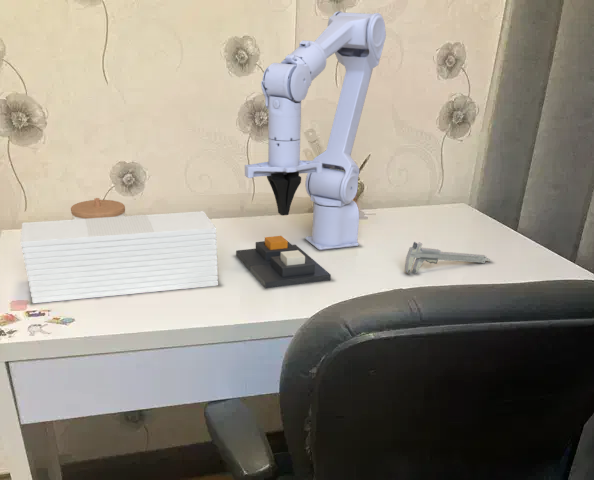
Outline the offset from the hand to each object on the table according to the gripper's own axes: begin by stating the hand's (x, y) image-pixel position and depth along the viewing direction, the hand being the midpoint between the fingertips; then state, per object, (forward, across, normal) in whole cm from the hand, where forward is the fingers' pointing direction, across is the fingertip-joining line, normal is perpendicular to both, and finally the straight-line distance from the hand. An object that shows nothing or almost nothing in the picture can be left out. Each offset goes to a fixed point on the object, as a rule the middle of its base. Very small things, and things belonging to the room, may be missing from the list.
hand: (283, 213), depth 125 cm
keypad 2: (+10, -1, -6) cm, 12 cm away
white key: (+8, 0, -6) cm, 10 cm away
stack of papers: (+10, -31, 0) cm, 32 cm away
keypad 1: (+10, -1, +4) cm, 11 cm away
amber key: (+8, 0, +4) cm, 9 cm away
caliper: (+11, +31, -11) cm, 35 cm away
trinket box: (+10, -31, +24) cm, 41 cm away
